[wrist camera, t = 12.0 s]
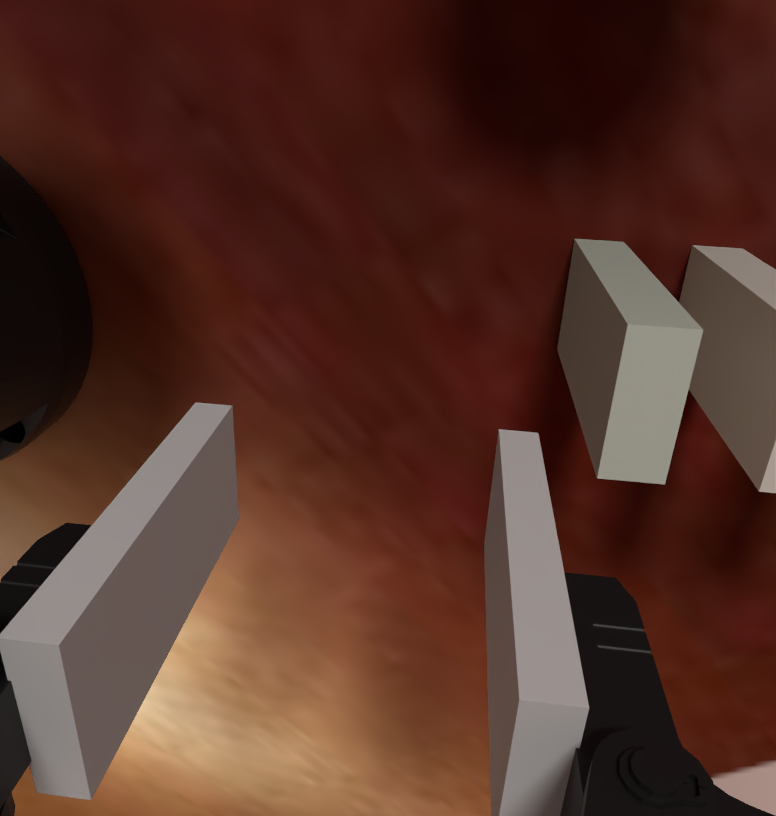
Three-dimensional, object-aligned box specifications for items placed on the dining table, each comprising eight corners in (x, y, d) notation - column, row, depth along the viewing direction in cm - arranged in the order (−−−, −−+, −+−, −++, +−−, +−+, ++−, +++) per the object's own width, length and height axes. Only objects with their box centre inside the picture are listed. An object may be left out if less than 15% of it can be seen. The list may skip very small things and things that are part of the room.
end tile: (557, 349, 28) (596, 478, 19) (574, 238, 26) (628, 324, 17) (603, 352, 28) (665, 484, 19) (623, 241, 26) (703, 329, 17)
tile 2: (666, 356, 28) (758, 491, 19) (692, 245, 26) (809, 335, 17) (713, 360, 28) (829, 498, 19) (742, 248, 26) (888, 341, 17)
